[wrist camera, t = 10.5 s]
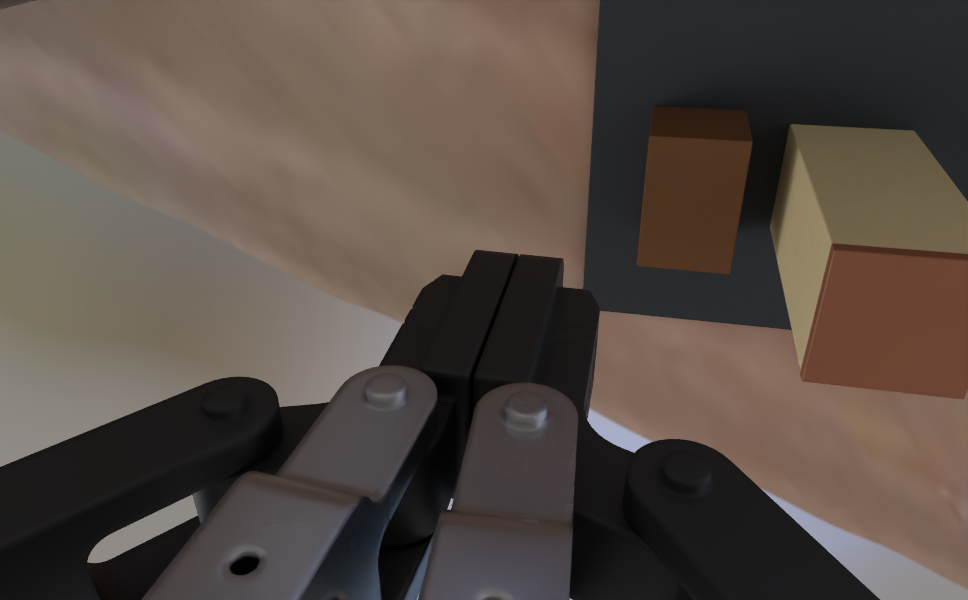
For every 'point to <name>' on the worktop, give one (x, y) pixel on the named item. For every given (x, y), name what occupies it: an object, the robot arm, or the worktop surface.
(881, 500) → the worktop surface
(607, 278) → the mat
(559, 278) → the robot arm
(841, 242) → the carton
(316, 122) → the worktop surface
